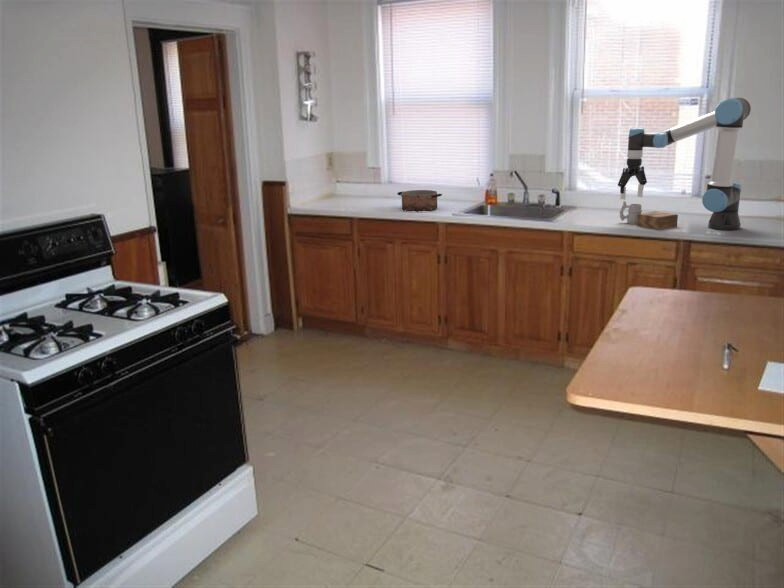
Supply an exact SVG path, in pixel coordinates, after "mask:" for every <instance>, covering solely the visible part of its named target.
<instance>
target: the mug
mask: <svg viewBox="0 0 784 588" xmlns="http://www.w3.org/2000/svg"><path fill="white" fill-rule="evenodd" d="M626 208H628V209H627V212H628V213H627V214H626V215H625V214H624V210H625V209H626ZM642 212H643V210H642V204H639V203H629V204H627V202H626V201H625V200H623V204H622V206H621V208H620V210H619V218H620V219H621V220H620V221H622V222H623V221H625V219H626V221H627V224H629V225H631V224H632V225H637V222H638V215H639V214H642Z"/></svg>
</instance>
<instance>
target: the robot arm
mask: <svg viewBox="0 0 784 588" xmlns="http://www.w3.org/2000/svg"><path fill="white" fill-rule="evenodd" d="M751 110H752V108H751V103H750V102H749V101H748V100H747V99H745V98H743V97H731V98H730V97H729V98H726V99H724V100H722V101H720V102H719V103H718V104H717V105H716V107H715V110H714V111H713V112H709V113H707V114H704V115H701V116H699V117H696V118H693V119H691V120H688V121H686V122H684V123H683V122H682V124H678V125H676V126H674V127H671V128H669V129H665V130H663V131H658V132H657V131H656V132H646V131H645V128H643V127H632V128H630V129H629V133H628V143H627V156H626V157H627V159H626V166H627V167H623V169H622V172H621V175H620V178H619V180H618V183H617V186H618V187H619V188H620V197H619V199H620V200H623V201H625V200H626V196H627V195H626V193H627V187H626V186H627V184H628V182H629V181H630V179H631V178H632V177H634V176H635V178H636V180H637V181H638V184H637V185H638V187H637V197H638V198H642V197H643V194H644V193H643V192H644V188H645V185H646V184H647V183H648V181H647V177H646V172H645V166H643V165H642V164H643V163H642V162H643V159H642V158H643V150H644V148H653V149H654V148H656V149H662V148H665V147H666V146H670V145H671V144H673V143H676V142H679V141H682V140H684V139H687V138H689V137H692V136H695V135H697V134H700V133H703V132H705V131H708V130H711V129H714V128H716V129H717V130H718V133H717V140H716V147H715V152H714V160H713V168H712V173H711V179H710V181H708V182H707V185H706V191H704V193H703V195H702V198H701V199H702V200H701V201H702V206H703V207H704V208H705V209H706V210H707V211H709V212H712V214H711V216H710V219H709V221H708V224H707V227H708V228H710V229H713V230H720V231H721V230H722V231H735V230H736V231H737V230H740V229H741V225H742V224H741V219H740V216H739V207H740V201H741V192H742V186H741V184H740V183H733V182H732V181H731V179H732V174H733V173H732V172H733V167H734V166H733V165H734V159H735V155H736V154H735V153H736V148H737V143H738V142H737V141H738V134H739V131H740V130H741V129H742V128H743V127H744V125H743V124H744V121H745V120H747V118H748V117H749V116H750V114H751Z"/></svg>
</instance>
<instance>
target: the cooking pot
mask: <svg viewBox="0 0 784 588" xmlns="http://www.w3.org/2000/svg"><path fill="white" fill-rule="evenodd" d="M396 194H397V196H400V197H401V210H402V209H403V210H406V211H405V212H407V211H429V212H433V211H436V210H437V209H438V197H441V196H443V193H438V191H437V190H430V189H412V190H406V191H398V192H397V193H396ZM403 210H402V211H403Z"/></svg>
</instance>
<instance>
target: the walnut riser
mask: <svg viewBox="0 0 784 588" xmlns="http://www.w3.org/2000/svg"><path fill="white" fill-rule="evenodd" d="M678 217H679V214H677V213H671V212H670V213H669V212H663V211H656V210H655V211H649V212H643V213H641V214H639V215H638V222H637V224H636V225H637V227H641V226H642V227H643V228H647V227H648V228H647V229H652V228H654V229H653V230H658V229H661V230H665V228H666V229H670V227H671V228H676V227H678ZM642 227H641V228H642Z"/></svg>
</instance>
